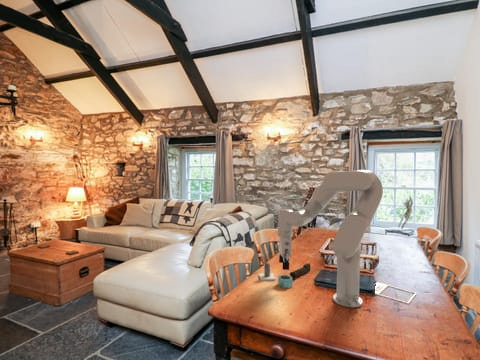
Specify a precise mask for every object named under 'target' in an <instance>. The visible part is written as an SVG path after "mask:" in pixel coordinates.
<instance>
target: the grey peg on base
mask: <svg viewBox="0 0 480 360" xmlns="http://www.w3.org/2000/svg"><path fill="white" fill-rule="evenodd" d="M263 267H264V272H261V273H260V272H259V273H258V275H259V280H260V281H261V282H263V281H264V282H266V281H267V282H268V281H272V282H273V281H275V282H276V277H275V274H274V272H271V265H270V262H265V263H264V266H263Z"/></svg>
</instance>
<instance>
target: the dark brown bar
mask: <svg viewBox="0 0 480 360" xmlns="http://www.w3.org/2000/svg"><path fill="white" fill-rule="evenodd" d="M310 271H311V264H310V263H305V264H303V266H302V267H300V268H298V269H296V270H294V271H290V273H289V276H291V277H292V278H293V280H296V279H297V278H299V277H300V276H302V275H304V274H308V273H309V272H310Z"/></svg>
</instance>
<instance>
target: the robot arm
mask: <svg viewBox="0 0 480 360" xmlns="http://www.w3.org/2000/svg"><path fill="white" fill-rule="evenodd" d="M383 190H384V188H383V184H382V181H381V179H380V178H379V177H378V175H377V174H376V173H374V172H373V171H371V170H368V169H359V170H358V169H357V170H347V171H329V172H328V173H326V174H325V175H324V177H323V179H322V183H321V184H320V185H319V186H318V187H316V188H315V190H313V192H312V194H311V195H312V196H311V199H310V200H309V202H308V203H307V204H306V205H305V206H304V207H302V209H299V210H295V211H294V210H293V209H292V208H281V209H279V210H278V220H277V225H278V227H277V236H278V238H279V241H278V242H279V243H278V250H279V251H278V252H279V257H278V263H280V264H282V270H283V271H288V270H290V258H292V251H293V250H292V247H293V245H292V237H293V236H294V235H293V234H294V227H295V228H296V227H297V228H299V227H303V226H305V225H307V224H309V223H310V222H311V221H313V220H314V219H315V218H316V217H317V216H318V215H319V214H320V213H321V212H322V211H323V210H324V208H326V207H327V205H328V204H329V203H330V202H331V201H333V199H334V198H335V197H336V196H338V194H340V193H341V192H361V193H360V195H359V197H358V198H357V199H356V200H357V201H356V203H355V205H354V207H353V209H352V210H351V212H350V213H349V214H348V215H346V216H345V217H344V218H343V220H342V222H341V224H340V226H339V229H338V230H337V232H336V235H335V237H334V239H333V241H332V246H331V247H332V251H333V253H334V254H335V256H336V257H337V261H336V262H337V263H336V293H334V294H333V296H332V300H333V302H334V303H336V304H337V305H340V307H341V306H342V307H345V308H346V307H347V308H353V309H354V308H359V307H361V306H362V305H363V299H362V298H361V297H360V275H361V274H360V273H361V272H360V270H361V256H362V255H361V254H362V239H363V238H364V235H365V233H366V232H367V231H368V230H369V228H370V226H371V223H372V221H373V220H374V219H373V218H374V216H375V214H376V213H377V210H378V208H379V205H380V204H381V200H382V198H383V192H384V191H383Z"/></svg>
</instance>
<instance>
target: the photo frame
mask: <svg viewBox="0 0 480 360" xmlns="http://www.w3.org/2000/svg"><path fill="white" fill-rule="evenodd" d="M375 284H376V286H375V294H374V295H376V296H380V297H382V298H386V299H389V300H392V301H396V302H399V303H403V304H406V305H409V304H410V303H411V302H412V301H413V299H414V298H415V297H416V296H417V294H418V292H414V291H410V290H407V289H404V288H401V287H396V286H393V285H390V284H386V283H382V282H378V281H377V282H375ZM388 287H389V288H392V289H396V290H399V291H403V292H407V293H410V294H412V296H411V297H410V298H409V299H408V301H405V300H401V299H397V298H394V297H391V296H388V295H385V294H382V293H383V292H384V291H385V290H386V289H387V288H388Z"/></svg>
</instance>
